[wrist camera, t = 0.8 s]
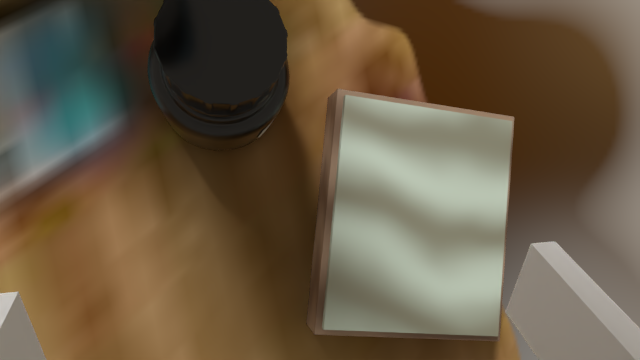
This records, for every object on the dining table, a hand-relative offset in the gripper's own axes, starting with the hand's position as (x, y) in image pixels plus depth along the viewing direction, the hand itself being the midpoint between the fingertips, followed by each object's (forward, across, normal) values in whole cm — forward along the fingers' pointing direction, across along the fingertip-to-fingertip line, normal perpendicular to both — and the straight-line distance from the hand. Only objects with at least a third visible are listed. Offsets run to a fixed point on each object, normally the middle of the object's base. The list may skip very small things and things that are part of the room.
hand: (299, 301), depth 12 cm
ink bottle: (+26, -2, -4) cm, 26 cm away
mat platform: (+20, +12, -13) cm, 27 cm away
